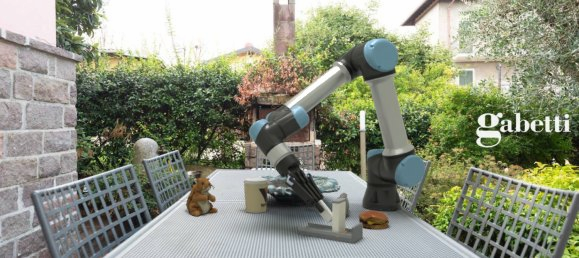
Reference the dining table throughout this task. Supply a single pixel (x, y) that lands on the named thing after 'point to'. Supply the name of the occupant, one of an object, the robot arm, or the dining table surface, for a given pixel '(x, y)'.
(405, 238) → the dining table surface
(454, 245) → the dining table surface
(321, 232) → the fader rail
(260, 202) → the coffee cup
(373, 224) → the burger
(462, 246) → the dining table surface
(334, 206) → the fader tab
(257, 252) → the dining table surface
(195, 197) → the stuffed squirrel
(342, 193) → the decorative bird
